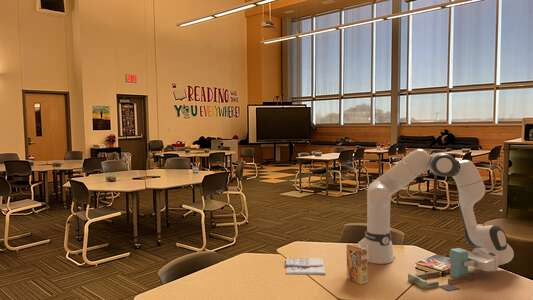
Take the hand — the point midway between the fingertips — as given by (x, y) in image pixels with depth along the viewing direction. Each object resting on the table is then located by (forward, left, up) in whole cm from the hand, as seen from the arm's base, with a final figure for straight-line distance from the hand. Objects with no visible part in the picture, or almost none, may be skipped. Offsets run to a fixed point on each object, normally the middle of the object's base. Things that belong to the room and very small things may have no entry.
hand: (457, 261), depth 181 cm
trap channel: (0, -10, -7) cm, 12 cm away
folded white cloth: (-37, -57, -8) cm, 68 cm away
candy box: (-13, -43, -7) cm, 46 cm away
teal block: (0, +1, -7) cm, 7 cm away
